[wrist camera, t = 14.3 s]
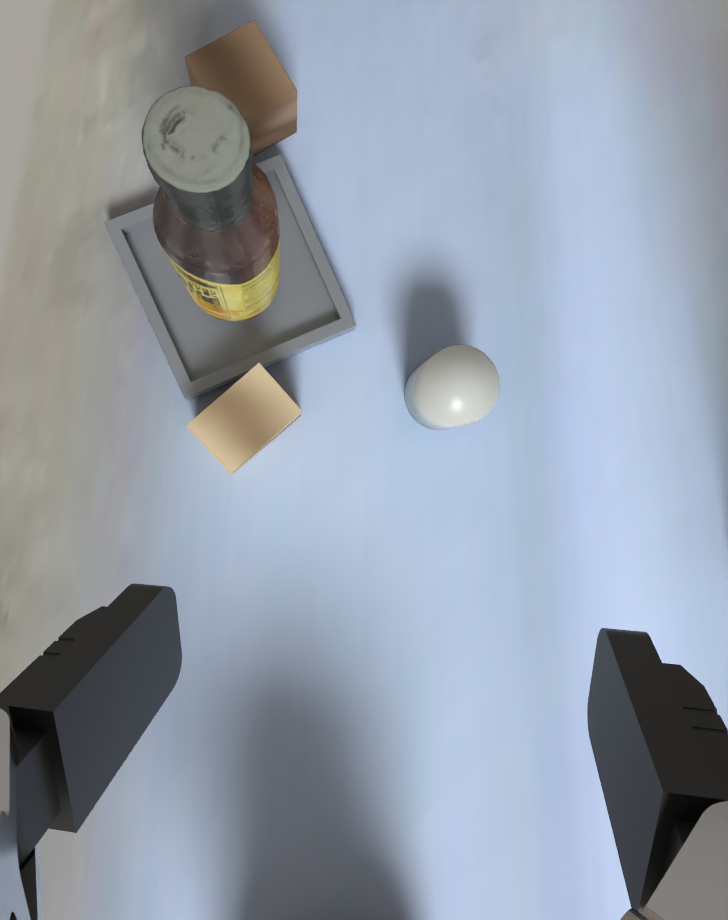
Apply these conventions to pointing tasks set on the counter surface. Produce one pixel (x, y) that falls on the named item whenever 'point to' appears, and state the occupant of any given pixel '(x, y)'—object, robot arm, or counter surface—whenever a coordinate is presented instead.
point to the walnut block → (249, 83)
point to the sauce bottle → (213, 203)
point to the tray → (236, 342)
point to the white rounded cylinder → (452, 388)
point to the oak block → (245, 419)
